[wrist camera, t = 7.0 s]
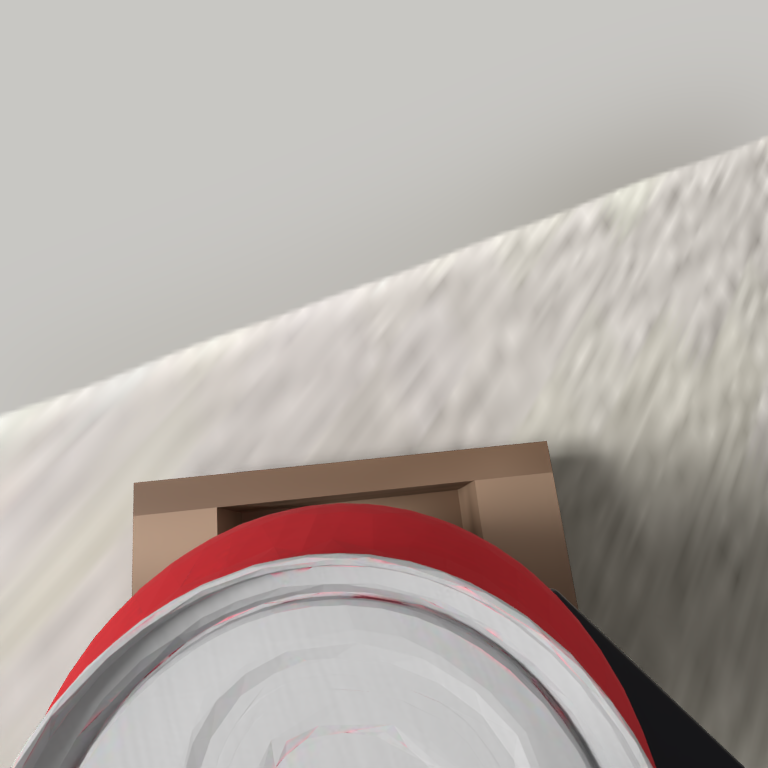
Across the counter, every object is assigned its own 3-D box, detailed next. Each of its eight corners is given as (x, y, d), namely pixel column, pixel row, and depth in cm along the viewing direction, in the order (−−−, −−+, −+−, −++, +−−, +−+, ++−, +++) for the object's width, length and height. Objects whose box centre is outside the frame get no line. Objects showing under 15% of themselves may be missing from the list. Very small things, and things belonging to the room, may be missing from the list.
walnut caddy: (594, 928, 17) (658, 1037, 14) (179, 990, 17) (122, 1125, 13) (514, 458, 22) (546, 441, 18) (177, 493, 21) (133, 482, 17)
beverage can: (493, 563, 16) (824, 604, 4) (445, 809, 14) (787, 1976, 3) (285, 506, 16) (80, 402, 5) (212, 740, 14) (-405, 1509, 3)
